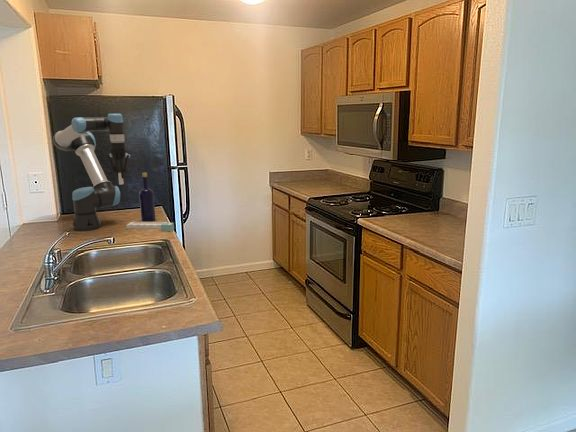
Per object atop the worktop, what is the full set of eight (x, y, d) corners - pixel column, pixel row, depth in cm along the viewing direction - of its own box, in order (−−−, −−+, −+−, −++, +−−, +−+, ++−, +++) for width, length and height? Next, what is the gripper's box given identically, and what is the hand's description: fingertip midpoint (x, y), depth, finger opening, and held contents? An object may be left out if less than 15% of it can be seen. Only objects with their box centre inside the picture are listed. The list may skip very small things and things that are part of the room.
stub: (161, 231, 244) (160, 224, 243) (164, 229, 249) (163, 222, 248) (171, 231, 244) (171, 224, 243) (174, 229, 249) (173, 222, 248)
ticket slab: (126, 228, 251) (126, 224, 251) (132, 224, 259) (131, 221, 258) (163, 228, 250) (163, 225, 249) (167, 225, 258) (167, 221, 257)
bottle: (153, 222, 265) (149, 173, 258) (138, 222, 265) (134, 174, 258) (158, 218, 274) (154, 171, 267) (143, 218, 274) (139, 171, 267)
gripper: (102, 142, 235) (107, 185, 241) (126, 142, 235) (130, 185, 240) (109, 141, 243) (113, 183, 248) (131, 141, 242) (135, 183, 247)
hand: (121, 184), depth 244 cm, fingers closed
